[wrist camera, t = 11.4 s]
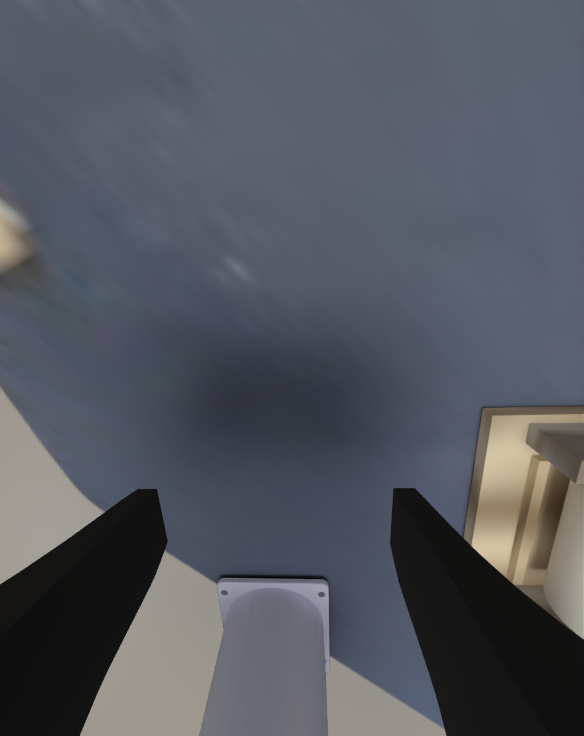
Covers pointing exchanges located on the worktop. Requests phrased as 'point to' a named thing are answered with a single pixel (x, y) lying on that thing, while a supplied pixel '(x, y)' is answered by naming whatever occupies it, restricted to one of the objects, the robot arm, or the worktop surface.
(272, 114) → the worktop surface
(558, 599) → the paper roll
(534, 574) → the roll holder
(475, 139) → the worktop surface
